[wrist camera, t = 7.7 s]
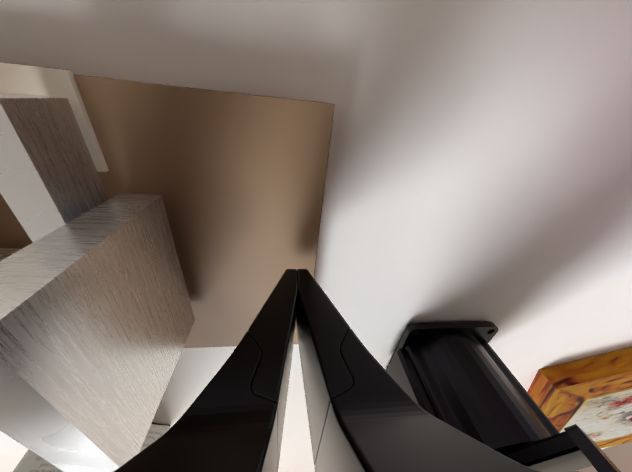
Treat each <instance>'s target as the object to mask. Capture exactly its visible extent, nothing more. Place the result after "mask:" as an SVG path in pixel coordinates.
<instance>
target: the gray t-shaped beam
mask: <svg viewBox="0 0 632 472" xmlns="http://www.w3.org/2000/svg"><path fill="white" fill-rule="evenodd" d="M0 193H1V195H2V196H3V198H4V199H5V201H6V203H7V204H8V206H9V207H10V209H11V210H12V212H13V213H14V215H15V216H16V218H17V219H18V221H19V222H20V224H21V225H22V227H23V228H24V230H25V231H26V233H27V235H28V236H29V238H30V239H31V241H32V242H33V243H32V244H30V245H28V246H26V247H24V248H23V249H18V248H0V430H1V431H2V432H4V433H5V434H7V435H8V436H10V437H11V438H13V439H14V440H16V441H17V442H19V443H20V444H22V445H23V446H25V447H26V448H28V449H30V450H31V451H33V452H34V453H36V454H37V455H39V456H40V457H42V458H43V459H45V460H46V461H48V462H49V463H51V464H52V465H54V466H55V467H57V468H58V469H60V470H62V471H63V472H114V471H115V470H117V469H118V468H119V467H121V466H122V465H123V464H125V463H126V462H127V461H129V460H130V459H131V458H133V457H134V456H136V455H137V454H138V453H139V452H140V449H141V447H142V444H143V442H144V440H145V437H146V435H147V433H148V430H149V428H150V426H151V423H152V421H153V418H154V416H155V414H156V411H157V409H158V407H159V404H160V402H161V399H162V397H163V395H164V392H165V390H166V388H167V385H168V383H169V381H170V378H171V376H172V373H173V371H174V369H175V366H176V364H177V362H178V359H179V357H180V355H181V352H182V350H183V347H184V345H185V343H186V340H187V338H188V336H189V333H190V331H191V329H192V326H193V324H194V321H195V317H194V314H193V310H192V306H191V303H190V299H189V295H188V291H187V288H186V284H185V280H184V277H183V273H182V269H181V266H180V262H179V258H178V254H177V251H176V247H175V243H174V240H173V236H172V232H171V229H170V225H169V221H168V217H167V214H166V210H165V206H164V203H163V199H162V195H145V194H125V193H119V194H118V195H116V196H114V197H112V198H110V199H109V200H108V198H107V195H106V193H105V190H104V188H103V185H102V183H101V180H100V178H99V175H98V173H97V170H96V168H95V165H94V163H93V160H92V158H91V155H90V153H89V150H88V148H87V145H86V143H85V141H84V138H83V136H82V133H81V131H80V128H79V126H78V123H77V121H76V118H75V116H74V113H73V111H72V108H71V106H70V103H69V101H68V98H62V97H52V96H42V95H32V94H22V93H0Z"/></svg>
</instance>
